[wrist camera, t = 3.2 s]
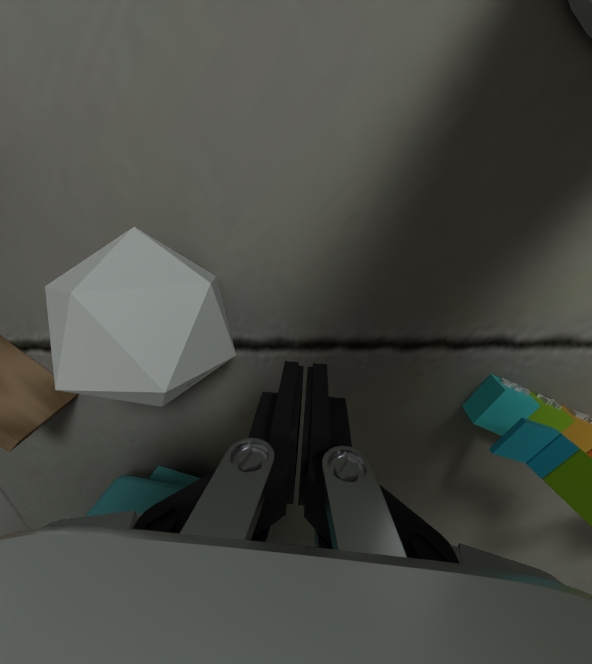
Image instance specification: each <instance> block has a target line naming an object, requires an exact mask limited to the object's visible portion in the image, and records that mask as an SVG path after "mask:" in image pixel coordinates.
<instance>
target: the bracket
mask: <svg viewBox="0 0 592 664" xmlns="http://www.w3.org/2000/svg"><path fill="white" fill-rule="evenodd" d="M76 396H77V393H71V392H64V391H58V390H55V381H54V375H53V374H52V373H50V372H49V371H48V370H46V369H45V368H43V367H42V366H41V365H39V364H38V363H37V362H35V361H34V360H33V359H31V358H30V357H29V356H27V355H26V354H24V353H23V352H22V351H20V350H19V349H18V348H16V347H15V346H14V345H12V344H11V343H10V342H8V341H7V340H5V339H4V338H3V337H1V336H0V447H2V448H3V449H5V450H7V451H8V452H10V451H11V450H13V449H14V448H15V447H16V446H17V445H19V444H20V443H21V442H22V441H24V440H25V439H26V438H27V437H28V436H30V435H31V434H32V433H33V432H35V431H36V430H37V429H38V428H39V427H41V426H42V425H43V424H44V423H46V422H47V421H48V420H49V419H50V418H52V417H53V416H54V415H55V414H57V413H58V412H59V411H60V410H62V409H63V408H64V407H65V406H66V405H68V404H69V403H70V402H71V401H72V400H73V399H74V398H75V397H76Z"/></svg>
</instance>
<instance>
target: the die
mask: <svg viewBox="0 0 592 664" xmlns="http://www.w3.org/2000/svg"><path fill="white" fill-rule="evenodd" d="M45 290H46V300H47V310H48V320H49V331H50V341H51V351H52V361H53V371H54V381H55V390H58V391H64V392H71V393H77V394H83V395H90V396H96V397H102V398H108V399H115V400H121V401H127V402H134V403H140V404H146V405H153V406H159V407H163V406H164V405H166V404H167V403H169V402H170V401H171V400H173V399H174V398H176V397H177V396H179V395H180V394H181V393H183V392H184V391H186V390H187V389H189V388H190V387H191V386H193V385H194V384H196V383H197V382H199V381H200V380H201V379H203V378H204V377H206V376H207V375H209V374H210V373H211V372H213V371H214V370H216V369H217V368H219V367H220V366H221V365H223V364H224V363H226V362H227V361H229V360H230V359H231V358H233V357H234V356H236V353H235V349H234V345H233V341H232V337H231V333H230V329H229V325H228V321H227V317H226V313H225V309H224V305H223V301H222V297H221V293H220V289H219V285H218V282H217V278H216V276H214V275H213V274H211V273H209V272H208V271H206V270H204V269H203V268H201V267H199V266H198V265H196V264H195V263H193V262H191V261H190V260H188V259H186V258H185V257H183V256H181V255H180V254H178V253H176V252H175V251H173V250H172V249H170V248H168V247H167V246H165V245H163V244H162V243H160V242H158V241H157V240H155V239H153V238H152V237H150V236H148V235H147V234H145V233H144V232H142V231H140V230H139V229H137V228H135V227H133V228H132V229H130V230H129V231H127V232H126V233H124V234H123V235H121V236H120V237H118V238H117V239H115V240H114V241H112V242H111V243H109V244H108V245H106V246H105V247H103V248H102V249H100V250H99V251H97V252H96V253H94V254H93V255H91V256H90V257H88V258H87V259H85V260H84V261H82V262H81V263H79V264H78V265H76V266H75V267H73V268H72V269H70V270H69V271H67V272H66V273H64V274H63V275H61V276H60V277H58V278H57V279H55V280H54V281H52V282H51V283H49V284H48V285H46V286H45Z"/></svg>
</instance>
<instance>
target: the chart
mask: <svg viewBox="0 0 592 664" xmlns="http://www.w3.org/2000/svg"><path fill="white" fill-rule="evenodd" d="M462 407H463V408H464V410H465V412H466V413H467V415H468V416H469V418H470V420H471V421H472V423H473V424H475V425H477V426H480V427H482V428H484V429H487V430H489V431H491V432H494V433H496V434H498V435H501V436H502V437H501V438H500V439H499V440H498V441H497V442H495V443H494V444H493V445H492V446H491V447H490V448H489V450H490V451H491V453H492V454H495V455H498V456H502V457H505V458H509V459H512V460H516V461H519V462H523V463H526V464H527V465H528V466H529V467H530V468H531V469H532V470H533V471H534V472H535V473H536V474H537V475H538V476H539V477H540V478H541V479H543V480H544V481H545V482H546V483H547V484H548V485H549V486H550V487H551V488H552V489H553V490H554V491H555V492H556V493H557V494H558V495H559V496H560V497H561V498H562V499H563V500H565V501H566V502H567V503H568V504H569V505H570V506H571V507H572V508H573V509H574V510H575V511H576V512H577V513H578V514H579V515H580V516H581V517H582V518H583V519H584V520H585V521H586V522H587V523H588V524H589V525H591V527H592V418H590V417H589V416H588V415H587V414H583V413H579V412H578V411H575V410H573V409H571V408H565V407H563V406H561V405H559V404H558V403H557V402H555V401H554V400H553V399H549V398H547V397H546V398H545V397H544V396H543V395H540V394H538V393H537V394H534V393H532V392H530V391H529V390H528V389H525V388H523V387H521V386H520V385H517V384H515V383H513V382H510V381H508V380H506V379H504V378H499V377H496V376H494V375H492V374H491V375H490V376H489V377H488V378H487V379H486V380H485V381H484V382H483V383H482V385H481V386H480V387H479V388H478V389H477V390H476V391H475V392H474V393H473V394H472V396H471V397H470V398H469V399H468V400H467V401H466V402H465V403H464V404H463V406H462Z"/></svg>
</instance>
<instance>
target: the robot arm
mask: <svg viewBox="0 0 592 664" xmlns="http://www.w3.org/2000/svg"><path fill="white" fill-rule="evenodd" d="M568 2H569V5H570V8H571V10H572V12H573V13H574V15H575V16H576V18H577V19H578V21H579V22H580V24H581V25H582V27H583V29H584V30H585V32H586V33H587V35H588V36H589V37H591V38H592V0H568ZM298 365H299V362H288V361H285V364H284V369H283V373H282V378H281V383H280V387H279V392H278V393H272V392H262V395H261V398H260V401H259V405H258V408H257V411H256V415H255V418H254V421H253V425H252V428H251V431H250V435H249V438H246V439H242V440H240V441H237V442H236V443H234V444H233V445H231V447H230V448H229V449H228V450H227V452H226V454H225V455H224V457H223V459H222V460H221V462H220V464H219V466H218V467H217V469H216V470H214V471H213V472H211V473H209V474H207V475H206V476H204V477H202V478H200V479H199V480H197V481H195V482H193V483H192V484H190V485H188V486H186V487H184V488H183V489H181V490H179V491H177V492H176V493H174V494H172V495H170V496H169V497H167V498H165V499H163V500H162V501H160V502H158V503H156V504H155V505H153V506H152V507H150V508H149V509H147V510H146V511H145V512H144V513H142V514H136V510H132V511H124V512H116V513H108V514H100V515H92V516H84V517H76V518H68V519H62V520H58V521H54V522H51V523H49V524H47V525H45V526H44V527H42V528H37V529H30V530H24V531H17V532H14V533H10V534H6V535H2V536H0V664H592V595H590V594H588V593H586V592H583V591H581V590H578V589H575V588H572V587H569V586H566V585H564V584H563V583H562V582H560V581H559V580H558V579H556V578H555V577H554V576H552V575H551V574H548V573H546V572H544V571H542V570H540V569H537V568H534V567H531V566H528V565H525V564H522V563H519V562H516V561H513V560H509V559H506V558H503V557H500V556H497V555H494V554H491V553H488V552H485V551H482V550H479V549H476V548H473V547H470V546H466V545H463V544H460V543H459V545H458V547H455V546H452V545H450V544H449V542H448V541H447V540H446V539H445V538H444V537H443V536H442V535H441V534H440V533H439V532H437V531H436V530H435V529H434V528H432V527H431V526H430V525H429V524H427V523H426V522H425V521H424V520H423V519H421V518H420V517H419V516H418V515H416V514H415V513H414V512H413V511H411V510H410V509H409V508H408V507H407V506H405V505H404V504H403V503H402V502H400V501H399V500H398V499H397V498H395V497H394V496H393V495H392V494H391V493H389V492H388V491H387V490H386V489H384V488H383V487H382V486H381V485H379V483H378V480H377V478H376V475H375V472H374V470H373V467H372V464H371V463H370V461H369V459H368V458H367V457H366V456H365V455H364V454H363V453H362V452H361V451H359V450H357V449H355V448H352V444H351V436H350V429H349V422H348V414H347V407H346V400H345V398H334V397H328V377H327V364H315V363H313V367H308V372H307V386H306V400H305V414H304V428H303V443H302V457H301V472H300V486H299V501H298V505H302V506H305V507H304V517H305V518H306V519H307V521H308V522H309V523H310V524H311V525H312V526H313V527H314V529H315V535H314V537H315V545H316V548H315V547H306V546H296V545H287V544H277V543H269V541H270V538H271V534H272V530H273V524H274V523H275V522H277V521H278V520H279V519H280V518H282V517H283V516H284V515H286V505H287V504H292V505H293V498H294V486H295V475H296V463H297V452H298V440H299V429H300V415H301V399H302V383H303V367H304V366H298Z"/></svg>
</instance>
